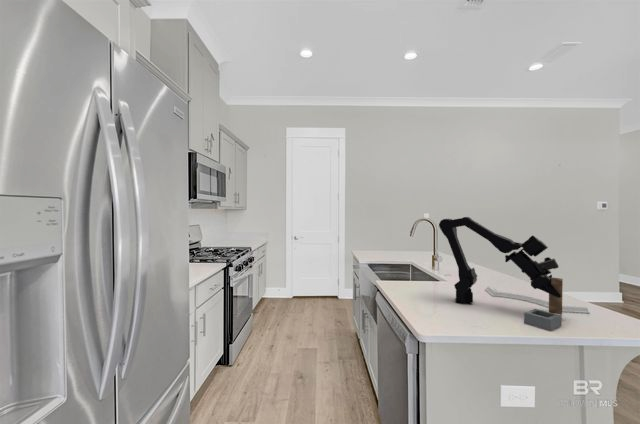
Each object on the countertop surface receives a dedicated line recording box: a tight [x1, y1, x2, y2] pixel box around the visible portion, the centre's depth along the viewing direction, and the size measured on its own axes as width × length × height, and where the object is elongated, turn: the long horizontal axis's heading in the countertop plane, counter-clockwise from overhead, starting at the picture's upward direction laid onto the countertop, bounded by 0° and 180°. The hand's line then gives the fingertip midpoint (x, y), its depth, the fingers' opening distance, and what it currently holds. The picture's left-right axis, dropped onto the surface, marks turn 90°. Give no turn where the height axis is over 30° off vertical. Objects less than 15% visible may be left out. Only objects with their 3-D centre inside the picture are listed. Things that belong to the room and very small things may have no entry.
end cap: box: [523, 308, 563, 332], centre depth 108 cm, size 8×8×4 cm
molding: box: [484, 286, 591, 315], centre depth 137 cm, size 42×12×3 cm, turn 32°
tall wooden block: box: [548, 276, 564, 316], centre depth 114 cm, size 4×4×13 cm
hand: (560, 295), depth 113 cm, fingers closed on tall wooden block, 4 cm apart
